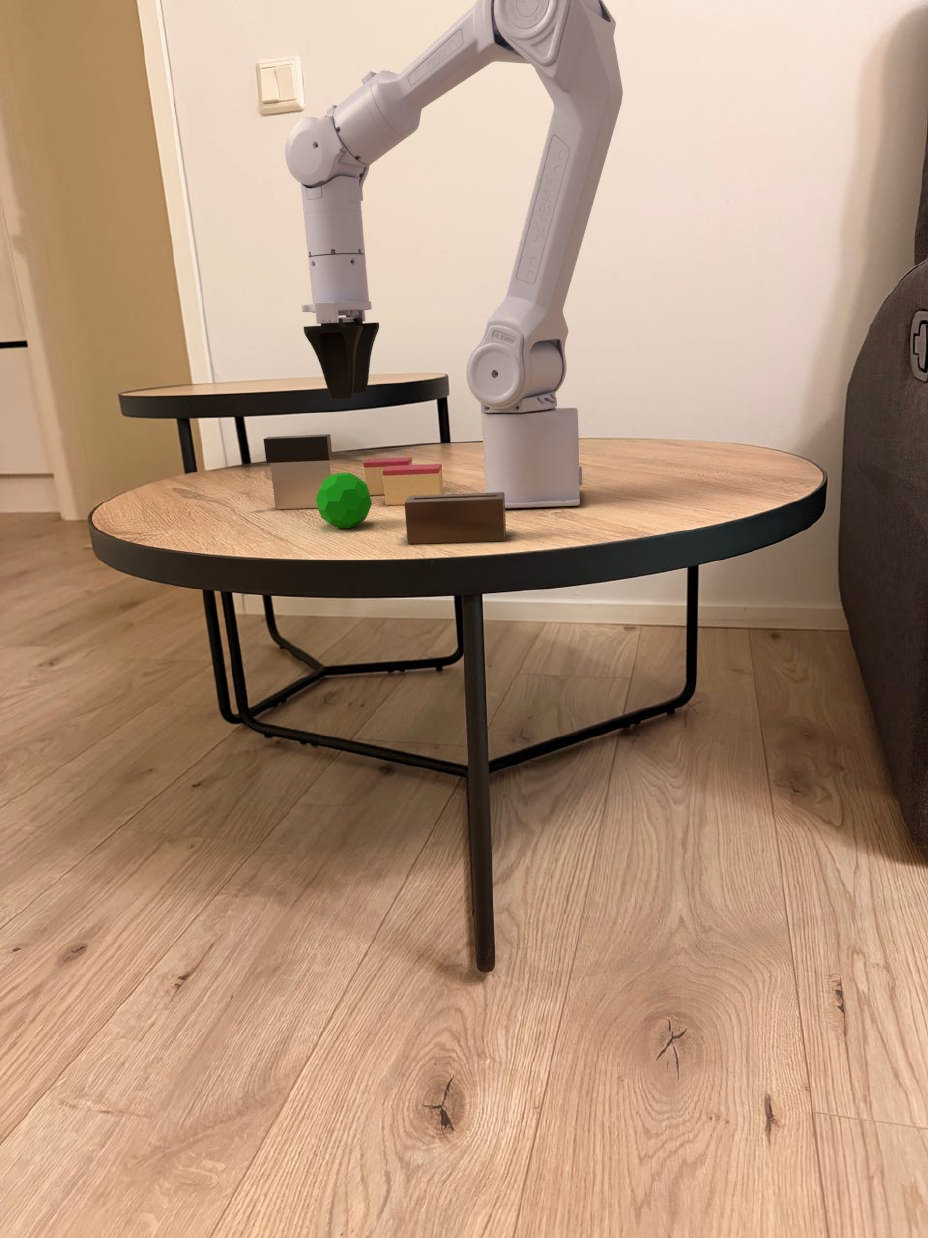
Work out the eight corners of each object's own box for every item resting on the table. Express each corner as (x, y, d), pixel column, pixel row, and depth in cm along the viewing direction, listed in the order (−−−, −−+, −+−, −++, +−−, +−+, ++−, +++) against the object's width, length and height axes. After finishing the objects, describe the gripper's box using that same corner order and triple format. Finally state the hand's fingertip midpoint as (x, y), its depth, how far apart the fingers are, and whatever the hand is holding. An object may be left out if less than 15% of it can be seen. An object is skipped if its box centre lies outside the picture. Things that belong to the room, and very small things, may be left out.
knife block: (506, 532, 78) (504, 491, 77) (504, 541, 75) (502, 498, 74) (412, 535, 78) (409, 495, 77) (407, 544, 76) (404, 502, 75)
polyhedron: (310, 532, 82) (304, 479, 80) (330, 520, 86) (325, 470, 85) (363, 532, 81) (358, 478, 79) (381, 520, 85) (376, 469, 84)
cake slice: (414, 489, 100) (411, 456, 99) (410, 493, 98) (408, 460, 97) (371, 490, 101) (368, 458, 100) (366, 495, 98) (363, 462, 97)
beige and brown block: (337, 505, 94) (330, 433, 92) (334, 508, 92) (326, 436, 90) (276, 507, 94) (267, 436, 92) (271, 510, 93) (263, 438, 91)
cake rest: (443, 497, 95) (441, 463, 94) (440, 503, 92) (438, 468, 91) (390, 499, 95) (387, 465, 94) (385, 505, 92) (382, 470, 91)
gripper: (315, 262, 99) (328, 391, 104) (277, 254, 86) (294, 403, 90) (379, 258, 99) (389, 388, 103) (352, 249, 85) (365, 399, 89)
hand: (349, 395), depth 96 cm, fingers open, 7 cm apart
